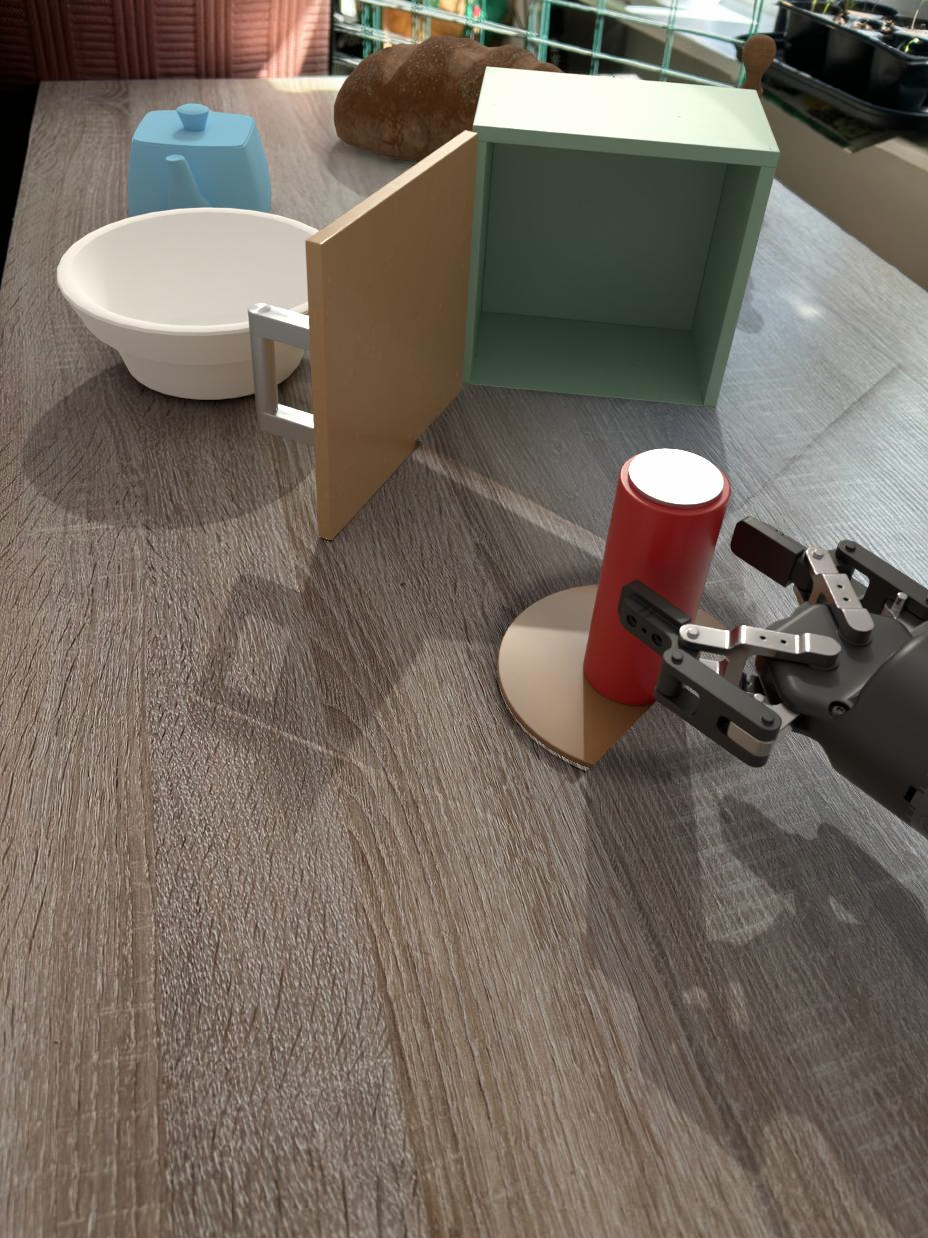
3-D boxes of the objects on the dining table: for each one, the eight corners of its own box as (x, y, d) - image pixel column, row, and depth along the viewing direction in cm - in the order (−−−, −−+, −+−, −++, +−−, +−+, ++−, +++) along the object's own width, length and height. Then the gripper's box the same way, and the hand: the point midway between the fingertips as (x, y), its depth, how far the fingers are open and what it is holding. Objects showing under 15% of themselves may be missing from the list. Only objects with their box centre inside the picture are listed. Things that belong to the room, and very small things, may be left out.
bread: (347, 116, 128) (344, 10, 120) (590, 135, 127) (603, 29, 119) (323, 163, 116) (318, 48, 109) (591, 184, 115) (605, 70, 108)
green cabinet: (713, 417, 82) (780, 151, 69) (456, 393, 83) (472, 124, 69) (699, 337, 92) (756, 89, 78) (469, 315, 92) (486, 65, 79)
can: (575, 639, 62) (610, 444, 53) (665, 636, 63) (715, 443, 53) (592, 707, 58) (633, 509, 49) (688, 704, 59) (746, 508, 50)
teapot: (116, 280, 93) (93, 145, 86) (155, 199, 107) (138, 76, 99) (258, 286, 94) (248, 153, 86) (280, 205, 107) (272, 83, 99)
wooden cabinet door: (249, 513, 70) (219, 218, 57) (390, 377, 84) (393, 113, 70) (331, 541, 68) (321, 244, 55) (461, 398, 82) (478, 132, 69)
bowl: (402, 354, 87) (404, 257, 81) (220, 470, 74) (207, 364, 68) (213, 277, 95) (203, 185, 89) (17, 370, 82) (-9, 268, 76)
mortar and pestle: (716, 210, 113) (758, 21, 101) (765, 232, 109) (814, 39, 97) (674, 224, 109) (712, 30, 97) (723, 247, 106) (768, 49, 94)
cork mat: (593, 561, 69) (595, 551, 68) (804, 674, 62) (807, 665, 62) (442, 684, 60) (443, 675, 59) (669, 832, 53) (672, 823, 53)
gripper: (1094, 627, 46) (788, 453, 54) (911, 789, 38) (593, 558, 47) (1021, 742, 51) (753, 566, 59) (848, 903, 44) (571, 676, 52)
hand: (682, 562), depth 53 cm, fingers open, 8 cm apart
